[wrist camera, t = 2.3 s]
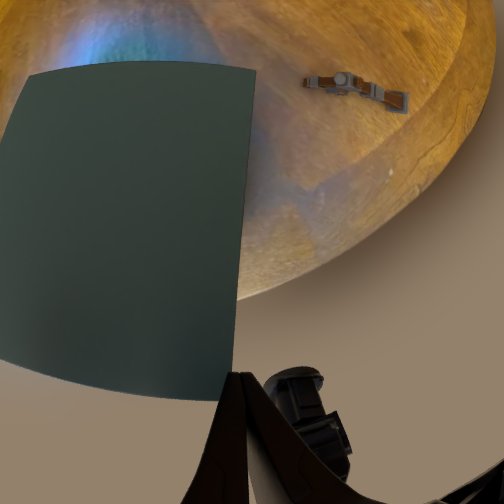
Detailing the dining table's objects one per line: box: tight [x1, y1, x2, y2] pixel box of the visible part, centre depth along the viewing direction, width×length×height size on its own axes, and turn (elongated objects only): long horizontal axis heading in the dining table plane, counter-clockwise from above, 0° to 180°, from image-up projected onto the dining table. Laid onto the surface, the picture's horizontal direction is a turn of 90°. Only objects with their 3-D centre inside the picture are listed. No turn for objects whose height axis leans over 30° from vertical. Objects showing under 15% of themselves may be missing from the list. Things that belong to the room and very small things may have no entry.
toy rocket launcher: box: [303, 72, 409, 115], centre depth 15 cm, size 2×8×4 cm, turn 88°
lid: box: [0, 61, 256, 401], centre depth 9 cm, size 13×12×1 cm
